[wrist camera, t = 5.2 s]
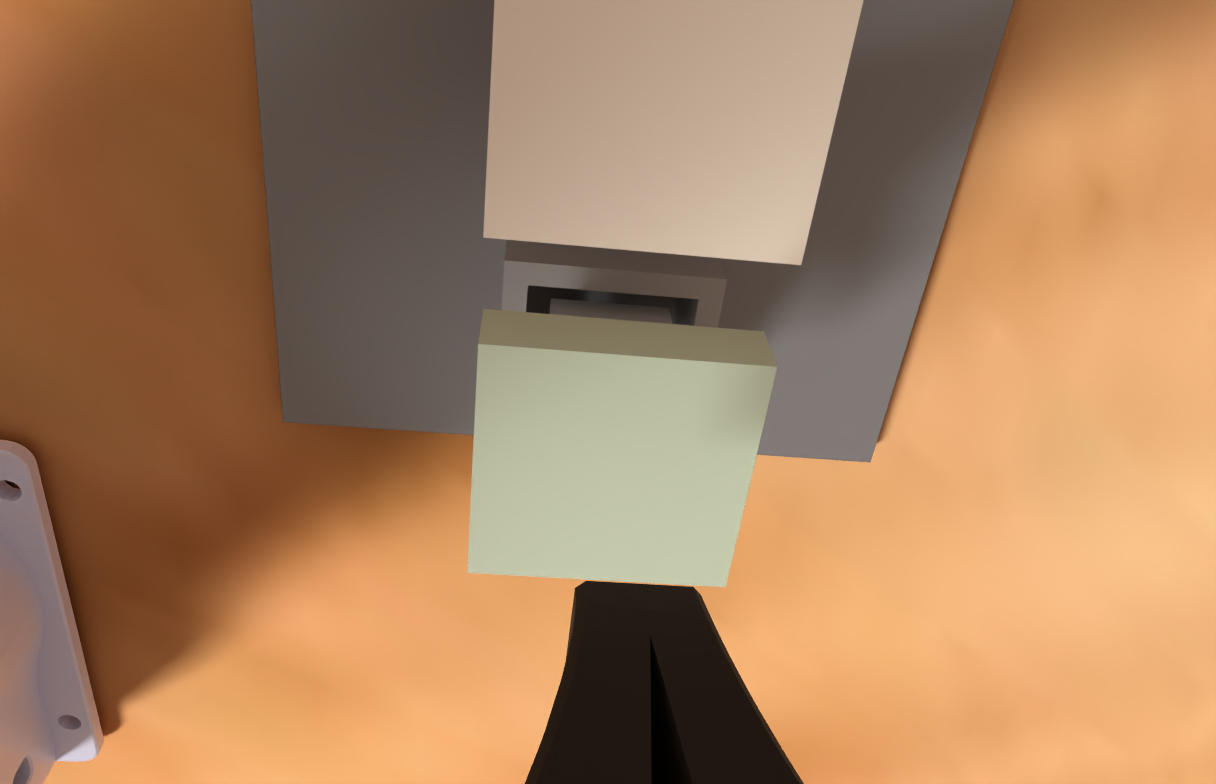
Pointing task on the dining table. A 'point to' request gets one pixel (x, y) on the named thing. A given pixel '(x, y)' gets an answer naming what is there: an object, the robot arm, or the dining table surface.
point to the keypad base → (536, 272)
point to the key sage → (613, 443)
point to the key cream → (664, 122)
